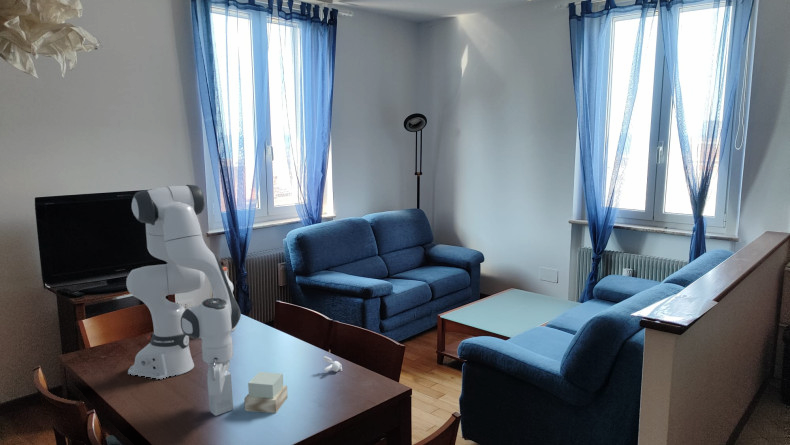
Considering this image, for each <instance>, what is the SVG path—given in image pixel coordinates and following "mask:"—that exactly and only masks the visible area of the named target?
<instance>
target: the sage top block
mask: <svg viewBox="0 0 790 445" xmlns="http://www.w3.org/2000/svg"><path fill="white" fill-rule="evenodd" d="M283 385H284V374H283V373H277V372H264V371H258V373H257V374H255V375H254V376H253V378H252V379H250V381H249V382H248V383H247V388H248V390H247V391H248V394H249V397H258V398H269V399H274V397H275V396H276V395H277V394H278V393H279V392H280V390H281V389H282V388H283Z"/></svg>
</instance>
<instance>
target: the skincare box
mask: <svg viewBox="0 0 790 445" xmlns="http://www.w3.org/2000/svg"><path fill="white" fill-rule="evenodd" d="M206 379H207V380H206V383H208V374H207V375H206ZM232 383H233V382H232V373H231V372H230V371H229V370H228V371H226V373H225V383H224V386H223V389H222V393H221V394H222V400H221V402H215V396H214V395H209V393H208V392H207V394H208V395H207V396H208V405H209V406H208V408H209V411H210V413H211V414H212V415H213V416H219V415H222V414H224V413H227V412H229V411H232V410H234V399H233V384H232Z"/></svg>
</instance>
